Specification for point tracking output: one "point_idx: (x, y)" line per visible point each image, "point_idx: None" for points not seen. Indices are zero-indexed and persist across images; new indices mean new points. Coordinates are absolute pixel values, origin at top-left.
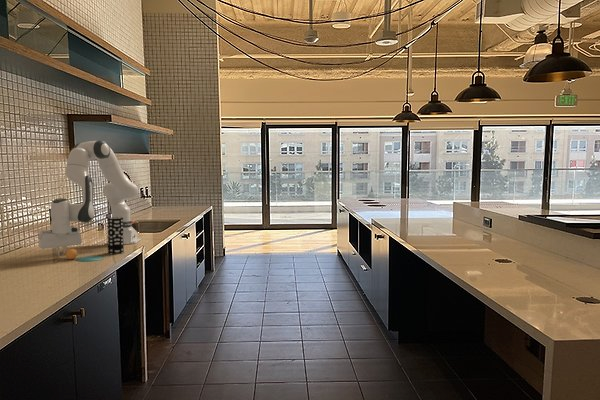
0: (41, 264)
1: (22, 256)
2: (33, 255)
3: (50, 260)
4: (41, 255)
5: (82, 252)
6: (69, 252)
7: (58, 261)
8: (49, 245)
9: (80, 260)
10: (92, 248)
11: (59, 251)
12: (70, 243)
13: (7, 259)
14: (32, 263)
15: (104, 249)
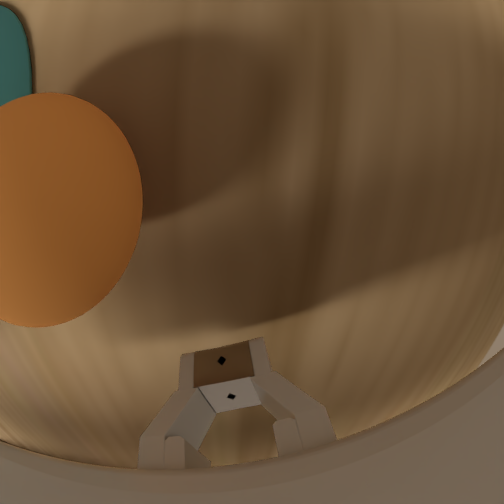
0: (453, 37)
1: (425, 399)
2: (380, 418)
3: (364, 217)
4: (349, 420)
5: (88, 430)
6: (25, 114)
7: (276, 80)
8: (492, 410)
9: (1, 41)
10: (81, 461)
11: (259, 384)
12: (66, 496)
13: (489, 344)
14: (496, 148)
15: (14, 425)
